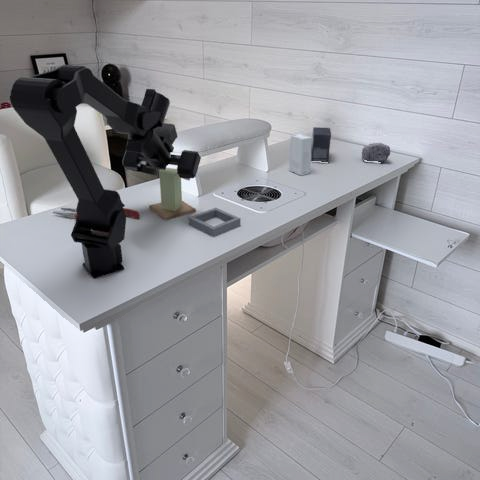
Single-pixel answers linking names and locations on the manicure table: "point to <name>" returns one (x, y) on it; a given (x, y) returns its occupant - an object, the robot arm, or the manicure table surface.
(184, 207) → the walnut pad
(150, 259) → the manicure table surface
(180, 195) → the olive block
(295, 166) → the skincare box
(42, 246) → the manicure table surface
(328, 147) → the small box
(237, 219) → the gray square frame
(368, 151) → the pumice stone
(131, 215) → the pliers
